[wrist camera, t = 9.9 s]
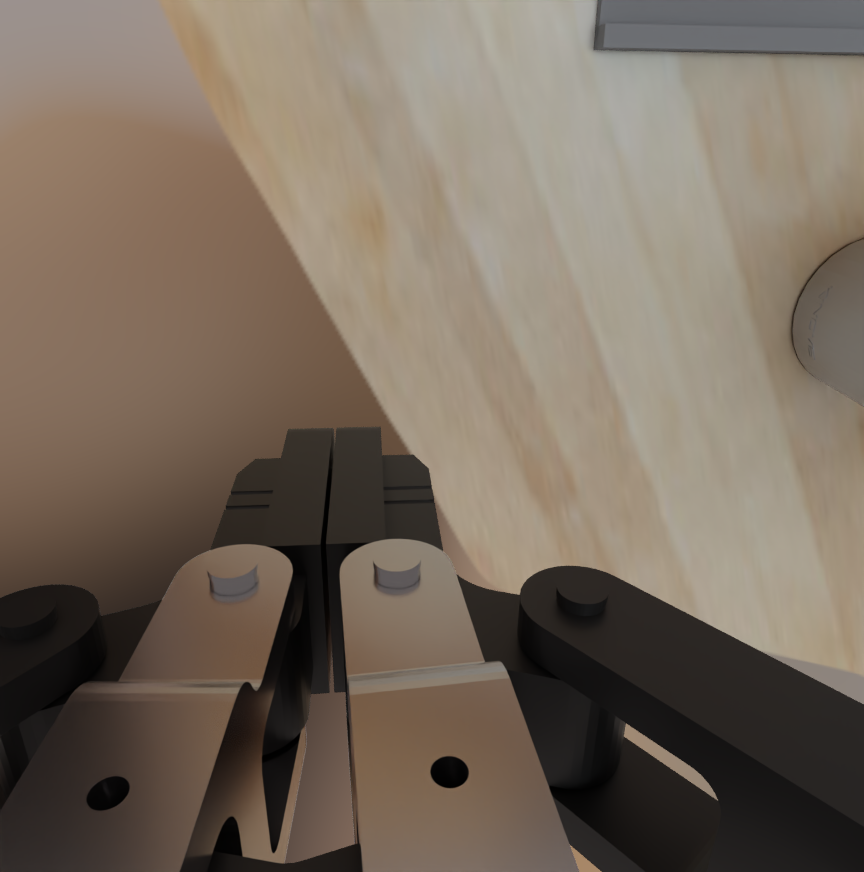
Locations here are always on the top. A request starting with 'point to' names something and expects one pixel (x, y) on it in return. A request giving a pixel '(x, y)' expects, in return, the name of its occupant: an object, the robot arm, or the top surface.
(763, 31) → the tray
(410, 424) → the top surface
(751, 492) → the top surface
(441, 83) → the top surface
